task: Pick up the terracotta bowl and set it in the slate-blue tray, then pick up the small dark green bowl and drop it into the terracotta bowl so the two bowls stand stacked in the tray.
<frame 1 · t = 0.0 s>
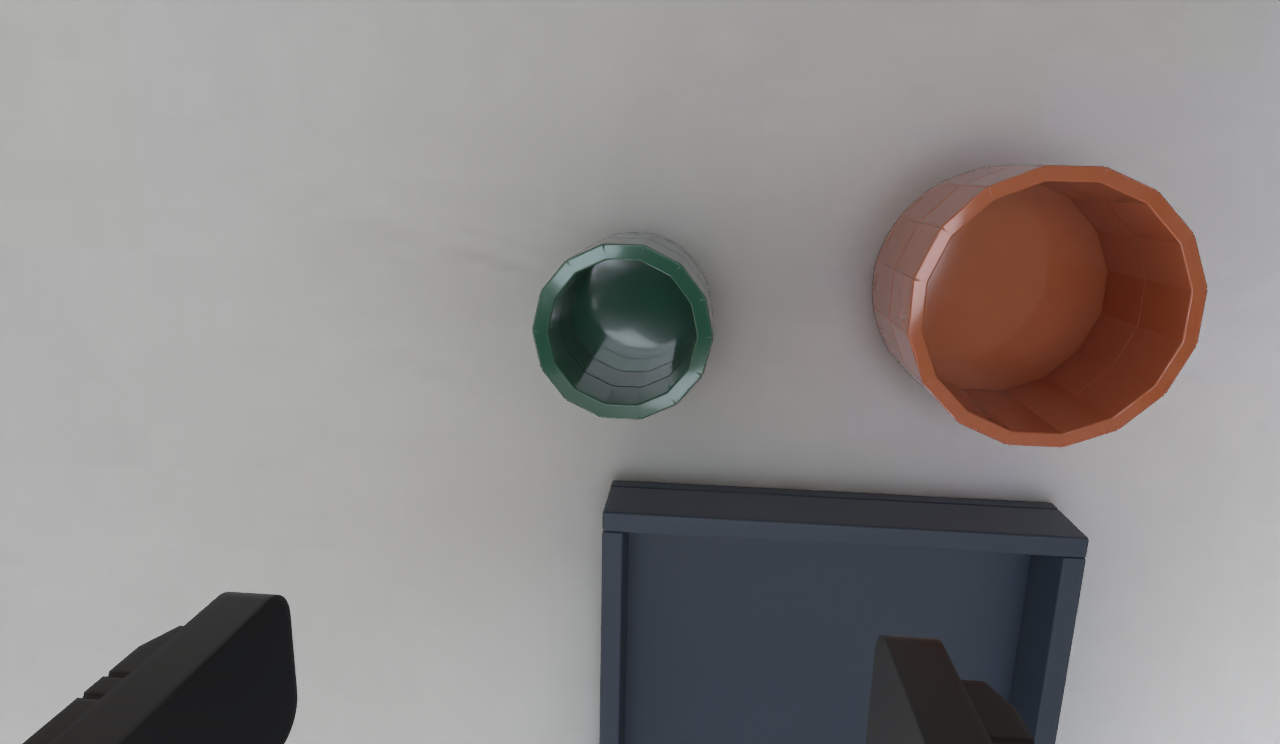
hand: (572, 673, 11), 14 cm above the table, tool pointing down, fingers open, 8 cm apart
small bowl: (635, 308, 24), on the table
tray: (809, 709, 27), on the table
big bowl: (989, 285, 23), on the table
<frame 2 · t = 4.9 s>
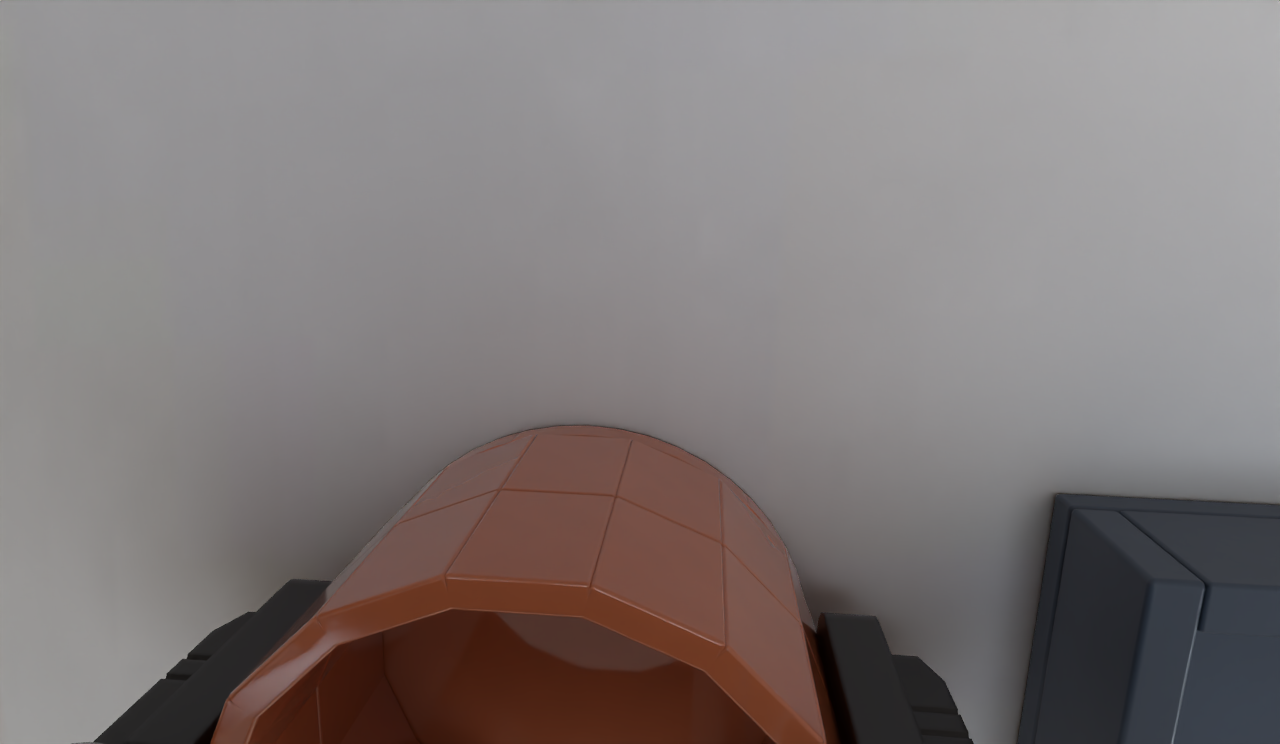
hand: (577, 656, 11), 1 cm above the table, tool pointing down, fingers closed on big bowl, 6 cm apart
big bowl: (586, 633, 12), on the table, touching gripper
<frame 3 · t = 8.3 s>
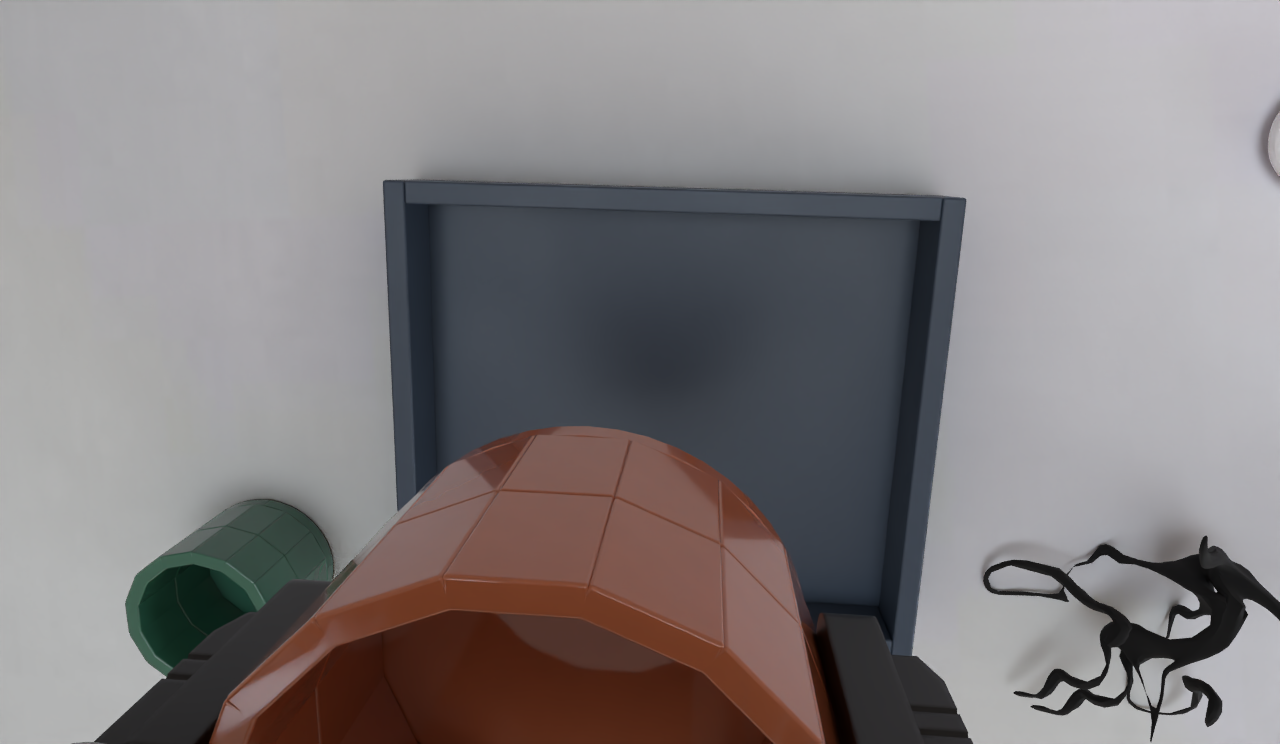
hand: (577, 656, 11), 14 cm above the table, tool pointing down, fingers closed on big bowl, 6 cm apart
creature: (1098, 608, 26), on the table
small bowl: (270, 560, 28), on the table
tray: (663, 406, 25), on the table
big bowl: (586, 633, 12), point 13 cm above the table, touching gripper
when the fingers open (1 cm above the table, at t = 11.8 s): big bowl stays where it is, resting on tray.
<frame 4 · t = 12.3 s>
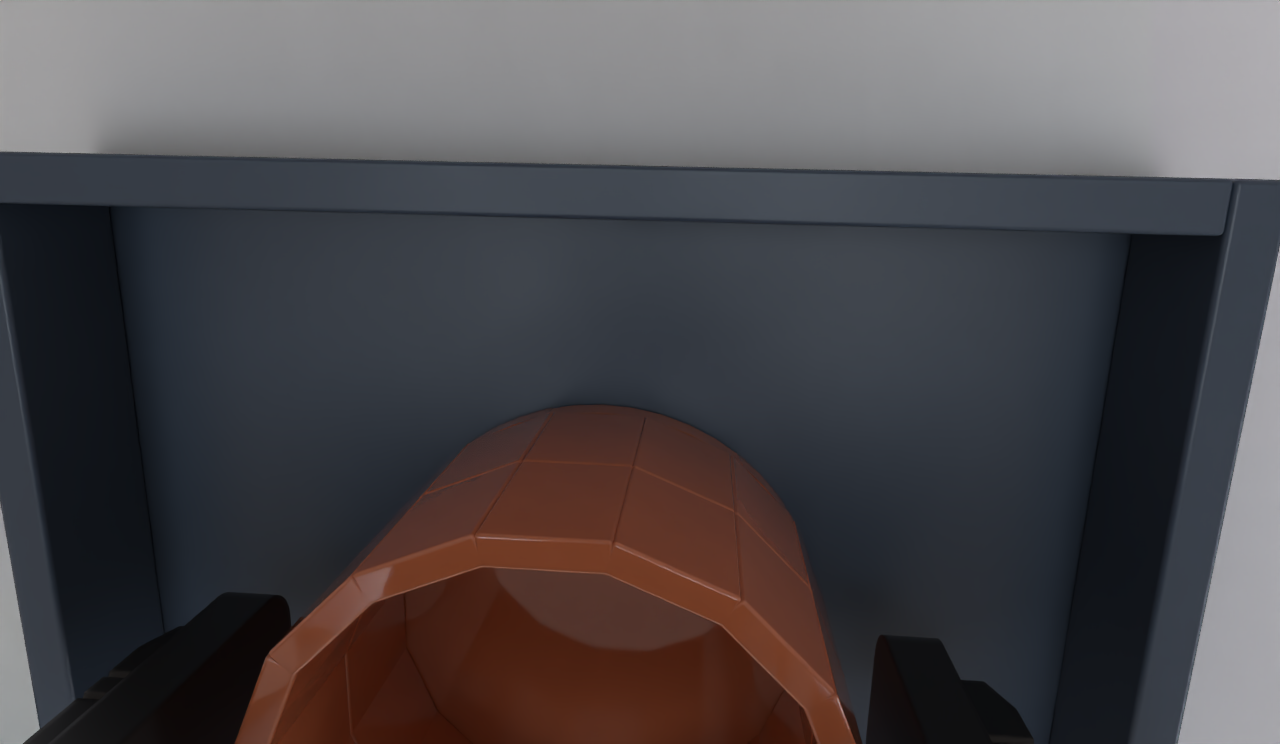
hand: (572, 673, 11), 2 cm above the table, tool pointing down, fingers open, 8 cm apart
tray: (597, 592, 13), on the table
big bowl: (601, 607, 13), resting on tray
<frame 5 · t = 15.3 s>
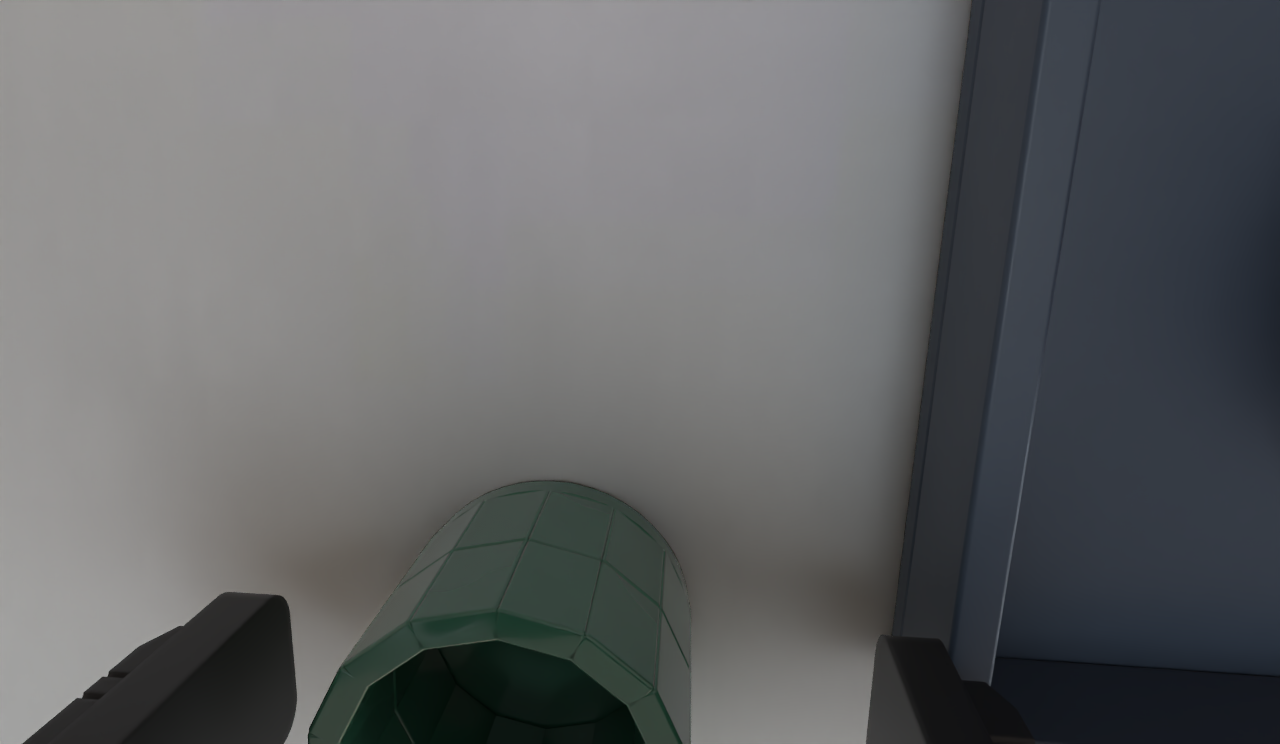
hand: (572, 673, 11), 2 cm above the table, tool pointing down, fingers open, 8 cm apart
small bowl: (553, 607, 13), on the table
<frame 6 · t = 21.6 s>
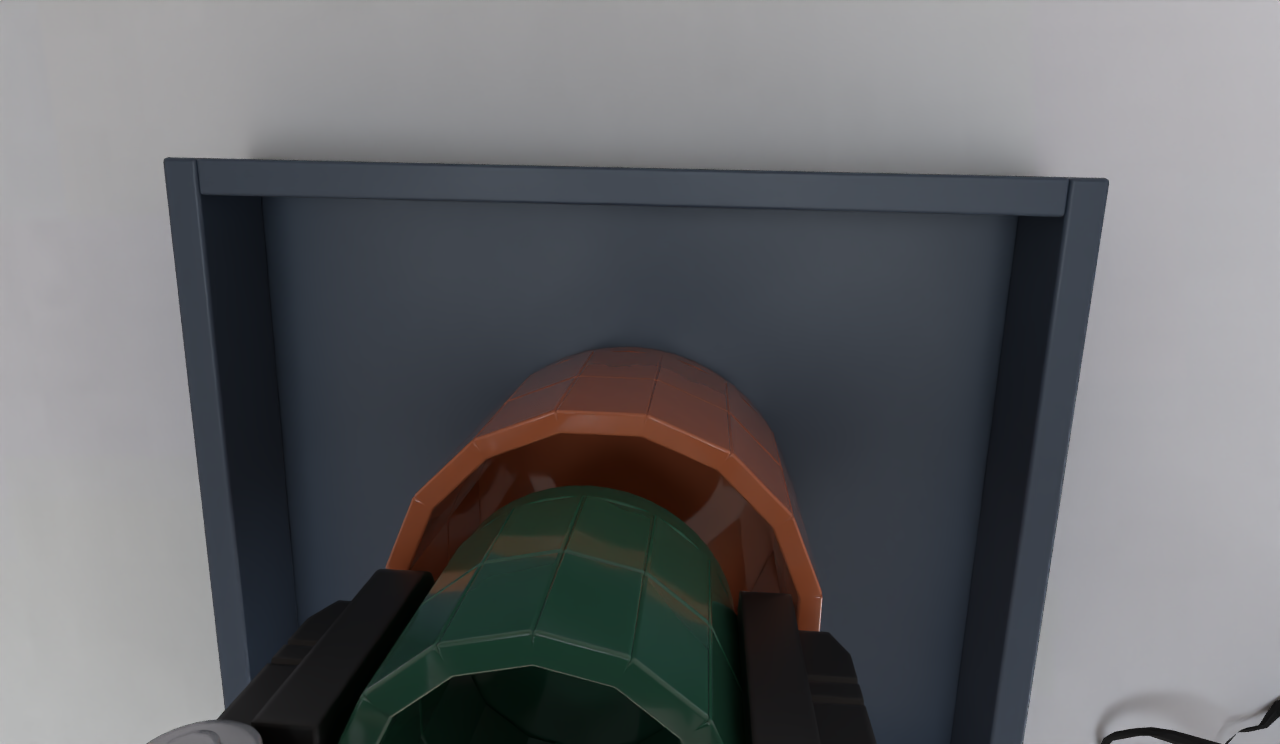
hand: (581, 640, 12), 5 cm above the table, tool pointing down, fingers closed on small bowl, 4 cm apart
small bowl: (588, 621, 12), point 5 cm above the table, touching gripper
tray: (624, 495, 17), on the table
big bowl: (627, 503, 17), point 1 cm above the table, touching tray
when the fingers open (7 cm above the table, at t = 30.3 s): small bowl drops 5 cm, resting on big bowl.
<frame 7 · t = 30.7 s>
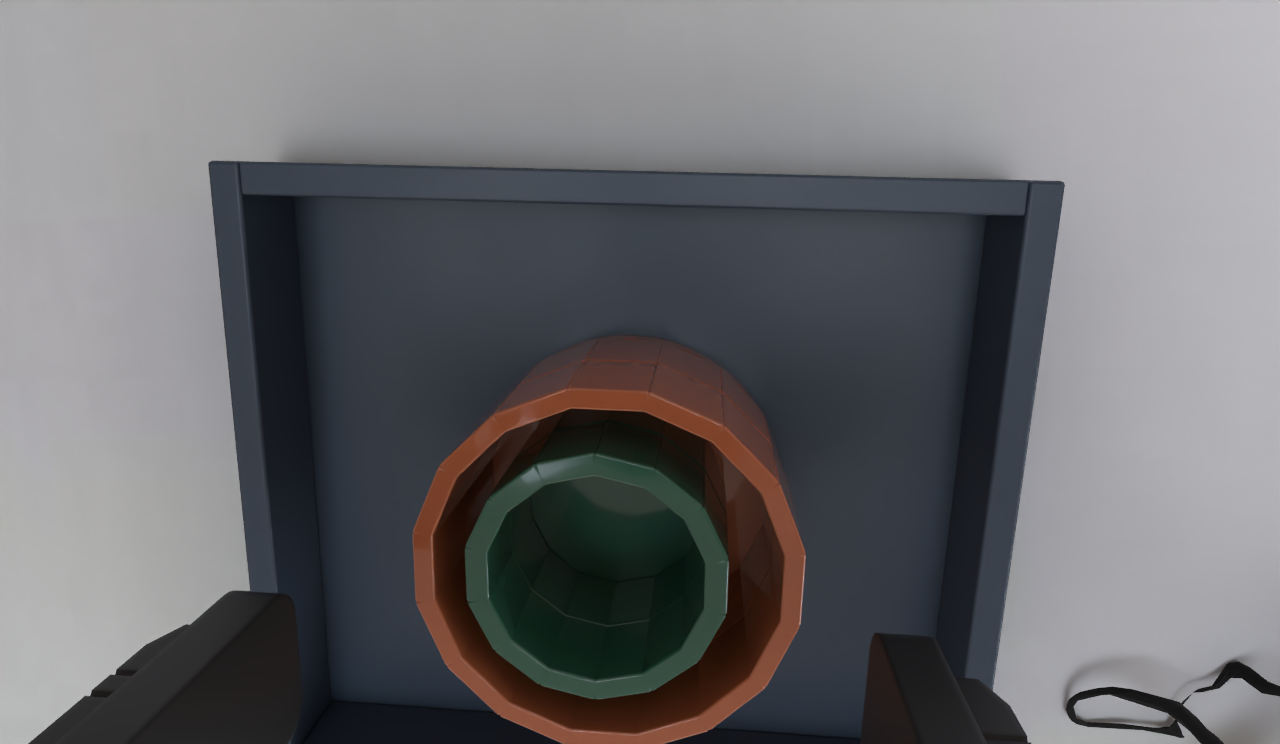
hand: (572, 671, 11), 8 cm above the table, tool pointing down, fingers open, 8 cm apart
small bowl: (619, 491, 17), point 1 cm above the table, touching big bowl
tray: (626, 473, 18), on the table
big bowl: (629, 480, 18), resting on tray, touching small bowl
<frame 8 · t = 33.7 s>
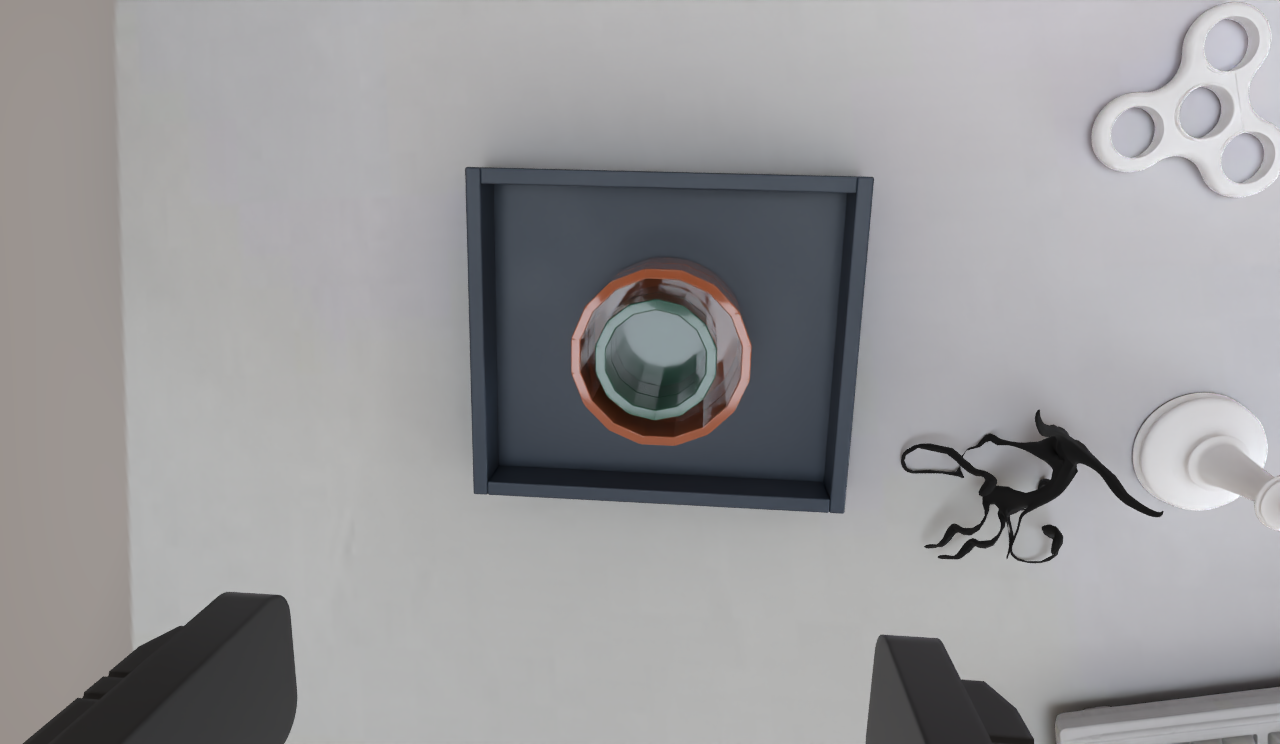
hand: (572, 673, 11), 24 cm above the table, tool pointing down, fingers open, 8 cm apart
creature: (987, 483, 35), on the table
small bowl: (661, 339, 33), point 1 cm above the table, touching big bowl
tray: (663, 333, 34), on the table
fidget spinner: (1174, 118, 31), on the table
chess piece: (1192, 448, 34), on the table
big bowl: (666, 335, 34), resting on tray, touching small bowl
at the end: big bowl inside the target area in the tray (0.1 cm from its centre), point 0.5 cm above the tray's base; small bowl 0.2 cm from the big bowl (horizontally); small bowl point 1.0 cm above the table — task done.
